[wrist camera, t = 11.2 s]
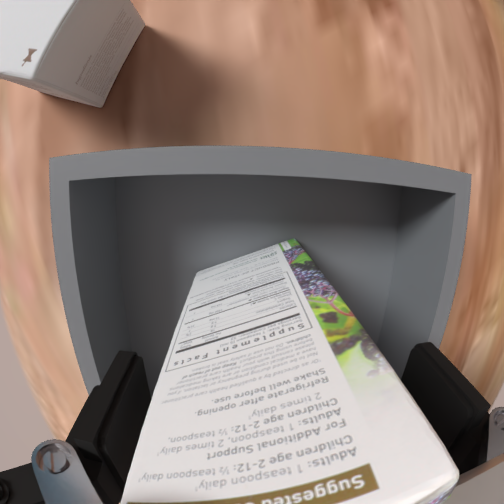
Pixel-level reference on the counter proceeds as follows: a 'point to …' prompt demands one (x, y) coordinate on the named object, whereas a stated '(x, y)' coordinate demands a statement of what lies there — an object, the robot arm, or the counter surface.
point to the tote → (249, 239)
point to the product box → (67, 45)
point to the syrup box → (281, 400)
